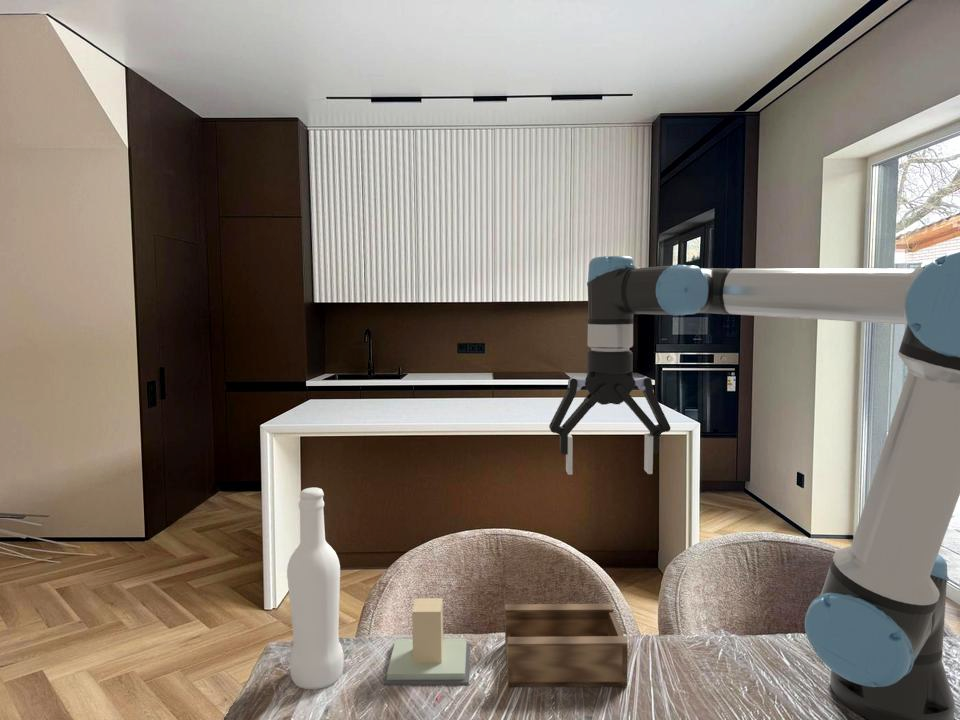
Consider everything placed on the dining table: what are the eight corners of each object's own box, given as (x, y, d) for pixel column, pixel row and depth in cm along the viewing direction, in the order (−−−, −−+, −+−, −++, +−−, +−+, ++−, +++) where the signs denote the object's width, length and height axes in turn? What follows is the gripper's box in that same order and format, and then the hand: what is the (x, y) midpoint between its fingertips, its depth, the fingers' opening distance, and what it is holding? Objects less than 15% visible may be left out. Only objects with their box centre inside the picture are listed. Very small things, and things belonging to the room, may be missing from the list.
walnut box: (610, 642, 108) (611, 603, 108) (627, 686, 96) (627, 643, 95) (505, 643, 108) (505, 604, 108) (508, 687, 96) (507, 643, 95)
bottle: (281, 675, 100) (273, 489, 97) (328, 655, 105) (322, 478, 102) (305, 699, 94) (298, 501, 91) (353, 677, 99) (348, 489, 96)
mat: (470, 645, 108) (470, 643, 108) (468, 684, 97) (468, 682, 97) (393, 646, 108) (393, 643, 108) (383, 685, 97) (383, 682, 97)
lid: (466, 644, 108) (465, 590, 107) (464, 679, 98) (464, 620, 97) (395, 644, 108) (394, 590, 107) (386, 679, 98) (385, 620, 97)
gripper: (677, 346, 111) (674, 465, 113) (534, 348, 111) (534, 467, 113) (691, 350, 103) (688, 477, 105) (538, 351, 103) (538, 478, 105)
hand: (608, 472), depth 109 cm, fingers open, 13 cm apart
